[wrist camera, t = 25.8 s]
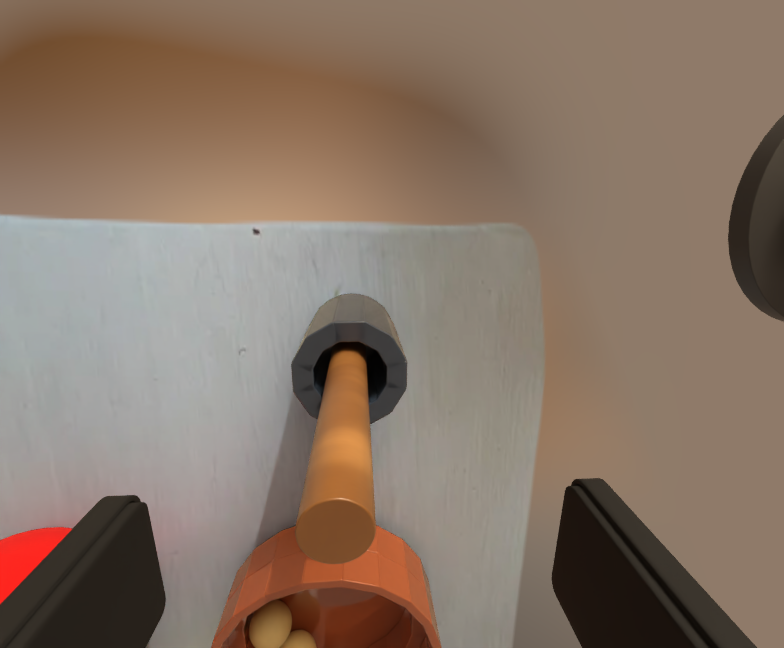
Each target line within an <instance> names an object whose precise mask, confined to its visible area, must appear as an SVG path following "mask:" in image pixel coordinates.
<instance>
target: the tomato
mask: <svg viewBox="0 0 784 648" xmlns="http://www.w3.org/2000/svg"><path fill="white" fill-rule="evenodd" d="M71 530H72V529H71V528H64V527H58V528H42V529H36V530H31V531H27V532H23V533H19V534H16V535H12V536H10V537H7V538H5V539H2V540H0V604H1V603H2V602H3V601H4V600H5V599H6V598H7V597H8V596H9V595H10V593H11V592H12V591H13V590H14V589H15V588H16V587H17V586H18V585H19V584H20V583H21V582H22V581H23V580H24V579H25V578H26V577H27V576H28V575H29V574H30V573H31V572H32V571H33V569H34V568H35V567H36V566H37V565H38V564H39V563H40V562H41V561H42V560H43V559H44V558H45V557H46V556H47V555H48V554H49V553H50V552H51V551H52V550H53V549H54V548H55V547H56V546H57V544H58V543H59V542H60V541H61V540H62V539H63V538H64V537H65V536H66V535H67V534H68V533H69V532H70V531H71Z"/></svg>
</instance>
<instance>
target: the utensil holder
mask: <svg viewBox="0 0 784 648" xmlns="http://www.w3.org/2000/svg"><path fill="white" fill-rule="evenodd" d="M339 342H361V343H363V344H365V347H366V364H367V381H368V399H369V416H370V424H372V423H374V422H375V421H377V420H379V419H381V418H383V417H384V416H386V415H388V414H390V413H391V412H392V411H393V409H394V408H395V406H396V405H397V403H398V402H399V400H400V398H401V397H402V395H403V394H404V392H405V390H406V387H407V360H406V357H405V354H404V351H403V348H402V345H401V343H400V340H399V337H398V334H397V331H396V328H395V326H394V323H393V322H392V320H391V318H390V316H389V314H388V312H387V311H386V310H385V308H384V307H383V306H382V305H381V304H379V303H378V302H377V301H375V300H374V299H372V298H370V297H368V296H365V295H360V294H344V295H340V296H337V297H334V298H332V299H330V300H329V301H327V302H326V303H325V304H324V305H322V306H321V307H319V309H318V311H317V313H316V314H315V316H314V318H313V320H312V322H311V324H310V325H309V328H308V330H307V332H306V334H305V336H304V338H303V340H302V342H301V344H300V346H299V348H298V351H297V353H296V355H295V357H294V359H293V361H292V364H291V367H292V382H293V392H294V394H295V395H296V397H297V398H298V399H299V401H300V402H301V404H302V405H303V406H304V408H305V409H306V410H307V412H308V413H309V415H311V416H312V417H314V418H316V419H318V415H319V411H320V406H321V401H322V396H323V391H324V387H325V382H326V377H327V372H328V367H329V362H330V358H331V353H332V348H333V346H334V345H336V344H337V343H339Z"/></svg>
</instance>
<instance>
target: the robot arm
mask: <svg viewBox="0 0 784 648" xmlns="http://www.w3.org/2000/svg"><path fill="white" fill-rule="evenodd" d="M552 584H553V589H554V592H555V594H556V597H557V598H558V600H559V602H560V605H561V606H562V609H563V610H564V613H565V614H566V616H567V618H568V620H569V622H570V624H571V626H572V628H573V630H574V632H575V634H576V636H577V638H578V640H579V642H580V644H581V646H582V648H757V647H756V646H755V645H754V644H753V643H752V642H751V641H750V639H749V638H747V636H746V635H745V634H744V633H743V632H742V631H741V630H740V629H739V627H738V626H737V625H736V624H735V623H734V622H733V621H732V620H731V619H730V618H729V616H728V615H727V614H726V613H725V612H724V611H723V610H722V609H721V608H720V607H719V606H718V604H717V603H716V602H715V601H714V600H713V599H712V598H711V597H710V596H709V595H708V594H707V592H706V591H705V590H704V589H703V588H702V587H701V586H700V585H699V584H698V583H697V581H696V580H695V579H694V578H693V577H692V576H691V575H690V574H689V573H688V572H687V571H686V569H685V568H684V567H683V566H682V565H681V564H680V563H679V562H678V561H677V560H676V558H675V557H674V556H673V555H672V554H671V553H670V552H669V551H668V550H667V549H666V547H665V546H664V545H663V544H662V543H661V542H660V541H659V540H658V539H657V538H656V537H655V536H654V534H653V533H652V532H651V531H650V530H649V529H648V528H647V527H646V526H645V525H644V523H643V522H642V521H641V520H640V519H639V518H638V517H637V516H636V515H635V514H634V512H633V511H632V510H631V509H630V508H629V507H628V506H627V505H626V504H625V503H624V502H623V501H622V499H621V498H620V497H619V496H618V495H617V494H616V493H615V492H614V491H613V489H611V487H610V486H609V485H608V484H607V483H606V482H605V481H604V480H603V479H600V478H593V479H575V480H574V481H573V482H572V485H571V486H568V487H567V488H566V490H565V495H564V501H563V508H562V515H561V520H560V527H559V533H558V539H557V546H556V552H555V559H554V565H553V571H552ZM165 600H166V598H165V591H164V586H163V581H162V576H161V572H160V567H159V562H158V557H157V552H156V547H155V542H154V537H153V532H152V527H151V522H150V517H149V512H148V507H147V504H146V503H144V502H141V501H140V499H139V498H138V497H137V496H135V495H127V496H107V497H104V498H102V499H101V500H100V501H99V502H98V503H97V504H96V505H95V506H94V507H93V508H92V509H91V510H90V511H89V512H88V513H87V514H86V515H85V516H84V517H83V518H82V519H81V520H80V522H79V523H78V524H77V525H76V526H75V527H74V528H73V529H72V530H71V531H70V532H69V533H68V534H67V535H66V536H65V537H64V538H63V539H62V540H61V541H60V542H59V543H58V544H57V546H56V547H55V548H54V549H53V550H52V551H51V552H50V553H49V554H48V555H47V556H46V557H45V558H44V559H43V560H42V561H41V562H40V563H39V564H38V565H37V566H36V567H35V568H34V569H33V571H32V572H31V573H30V574H29V575H28V576H27V577H26V578H25V579H24V580H23V581H22V582H21V583H20V584H19V585H18V586H17V587H16V588H15V589H14V590H13V591H12V592H11V593H10V595H9V596H8V597H7V598H6V599H5V600H4V601H3V602H2V603H1V604H0V648H145V647H146V646H147V644H148V642H149V640H150V638H151V636H152V634H153V632H154V630H155V628H156V626H157V624H158V623H159V621H160V619H161V616H162V614H163V611H164V607H165Z"/></svg>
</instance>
